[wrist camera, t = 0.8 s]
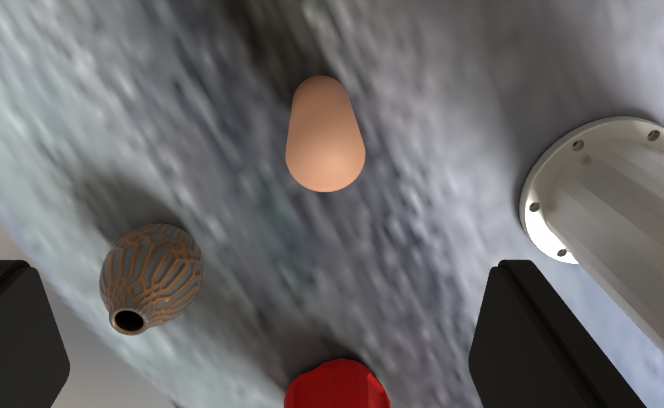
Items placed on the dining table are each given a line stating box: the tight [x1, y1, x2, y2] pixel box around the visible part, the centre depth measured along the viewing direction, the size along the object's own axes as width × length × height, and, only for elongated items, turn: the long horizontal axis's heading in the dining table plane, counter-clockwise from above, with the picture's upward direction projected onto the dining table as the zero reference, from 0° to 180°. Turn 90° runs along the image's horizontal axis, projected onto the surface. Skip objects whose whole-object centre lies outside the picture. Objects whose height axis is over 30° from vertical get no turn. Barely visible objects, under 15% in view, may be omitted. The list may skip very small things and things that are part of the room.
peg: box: [286, 75, 365, 192], centre depth 26 cm, size 4×4×10 cm
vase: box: [99, 223, 203, 335], centre depth 32 cm, size 7×7×9 cm
